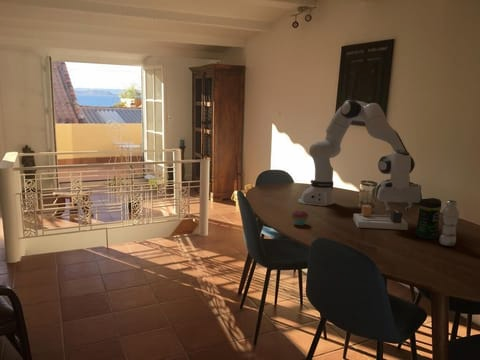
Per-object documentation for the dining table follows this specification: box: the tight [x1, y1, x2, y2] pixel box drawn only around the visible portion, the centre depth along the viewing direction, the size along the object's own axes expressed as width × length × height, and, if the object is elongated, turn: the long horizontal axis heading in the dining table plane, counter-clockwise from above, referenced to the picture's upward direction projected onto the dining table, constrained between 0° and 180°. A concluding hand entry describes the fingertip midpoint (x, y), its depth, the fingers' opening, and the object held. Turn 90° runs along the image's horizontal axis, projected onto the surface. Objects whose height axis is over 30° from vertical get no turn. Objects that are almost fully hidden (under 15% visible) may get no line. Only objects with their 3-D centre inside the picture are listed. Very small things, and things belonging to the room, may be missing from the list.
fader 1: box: [361, 204, 372, 217], centre depth 210 cm, size 4×5×5 cm
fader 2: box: [390, 209, 403, 223], centre depth 200 cm, size 4×5×5 cm
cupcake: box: [291, 202, 310, 227], centre depth 202 cm, size 9×8×12 cm
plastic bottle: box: [438, 199, 460, 247], centre depth 173 cm, size 6×7×20 cm
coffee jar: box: [415, 197, 442, 240], centre depth 184 cm, size 10×8×19 cm
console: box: [352, 213, 409, 231], centre depth 206 cm, size 24×16×3 cm, turn 82°
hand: (397, 210), depth 199 cm, fingers open, 8 cm apart
